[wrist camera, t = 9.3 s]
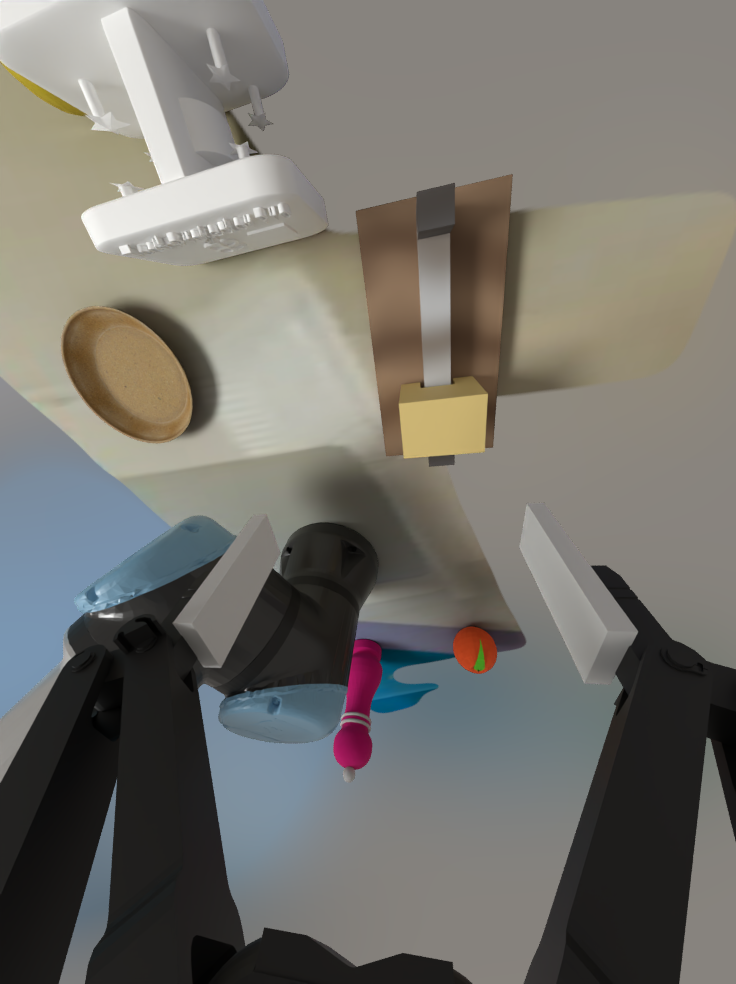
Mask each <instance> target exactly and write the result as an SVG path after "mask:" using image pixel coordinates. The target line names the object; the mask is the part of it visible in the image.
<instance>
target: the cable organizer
mask: <svg viewBox="0 0 736 984" xmlns="http://www.w3.org/2000/svg"><path fill="white" fill-rule="evenodd" d="M0 61H1V62H2V63H3V64H4V65H5V66H7V67H8V68H10V69H11V70H13V71H15V72H16V73H18V74H20V75H21V76H23V77H25V78H26V79H28V80H30V81H32V82H33V83H35V84H37V85H38V86H40V87H42V88H43V89H45V90H47V91H48V92H50V93H52V94H54V95H55V96H57V97H59V98H60V99H62V100H64V101H65V102H67V103H69V104H70V105H72V106H74V107H76V108H77V109H79V110H81V111H82V112H84V113H86V114H87V115H85V116H87V117H88V118H89V119H91V120H92V121H93V122H95V124H94V126H93V127H92V129H91V130H102V131H111V132H113V133H116V134H118V135H119V133H120V134H122V135H124V136H127V137H131V138H145V141H146V143H147V146H148V149H149V151H150V153H146V154H147V155H148V156H150V157H151V159H150V161H149V162H154V165H155V167H156V170H157V173H158V175H159V178H160V181H161V183H162V184H161V185H158V186H155V187H152V188H148V189H145V190H142V189H144V188H140V187H135V186H133V185H132V184H131V183H130V182H129V181H127V182H126V183H124V184H115V183H111V184H113V185H115V186H117V187H119V189H118V191H117V192H121V193H122V196H123V197H121V198H117V199H114V200H111V201H108V202H105V203H102V204H99V205H96V206H93V207H91V208H89V209H87V210H86V211H85V212H84V213H83V214H82V216H81V218H82V221H83V223H84V225H85V227H86V229H87V231H88V233H89V235H90V237H91V239H92V241H93V243H94V245H95V247H96V249H97V250H99V251H101V252H103V253H108V254H113V255H119V256H125V257H131V258H137V259H142V260H148V261H154V262H160V263H166V264H171V265H178V266H191V265H198V264H204V263H208V262H212V261H215V260H219V259H223V258H227V257H231V256H235V255H239V254H243V253H247V252H251V251H255V250H258V249H262V248H266V247H270V246H274V245H278V244H282V243H286V242H290V241H294V240H298V239H302V238H305V237H309V236H312V235H315V234H317V233H319V232H321V231H323V230H325V229H326V228H327V227H328V220H327V214H326V209H325V203H324V199H323V198H322V196H321V195H320V194H319V193H318V192H317V190H316V189H315V188H314V187H313V186H312V184H311V183H310V182H309V181H308V179H307V178H306V177H305V176H304V175H303V174H302V172H301V171H300V170H299V168H298V167H297V166H296V165H295V164H294V162H293V161H292V160H291V159H289V158H287V157H285V156H282V155H275V154H261V155H254V156H250V155H249V154H252V153H258V152H257V151H254V150H252V149H250V148H249V145H248V141H247V142H245V143H243V144H241V145H236V144H235V142H234V139H233V136H232V133H231V129H230V126H229V124H228V122H227V118H226V114H225V112H227V111H230V110H233V109H235V108H238V107H241V106H244V105H246V104H249V103H252V107H253V111H254V115H252V114H249V115H250V117H251V118H252V120H253V121H252V122H251V123H250V124H249V126H258V127H260V129H262V130H263V131H264V128H265V125H270V124H273V123H271V122H269V121H267V120H266V118H265V113H264V111H263V107H262V103H261V99H263V98H266V97H269V96H271V95H273V94H275V93H276V92H278V91H279V90H280V89H281V88H282V87H283V86H284V85H285V84H286V82H287V80H288V77H289V71H288V66H287V61H286V55H285V50H284V45H283V41H282V38H281V36H280V34H279V32H278V30H277V28H276V26H275V24H274V22H273V20H272V18H271V16H270V14H269V12H268V10H267V7H266V5H265V3H264V1H263V0H0ZM144 153H145V152H144ZM137 190H142V191H139V192H137Z"/></svg>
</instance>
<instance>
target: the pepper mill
mask: <svg viewBox="0 0 736 984" xmlns="http://www.w3.org/2000/svg"><path fill="white" fill-rule="evenodd" d="M381 651H382V650H381V647H380V646H379V645H378V644H377V643H376V642H374V641H371V640H368V639H359V640H356V641H355V643H354V649H353V656H352V663H351V669H350V676H349V683H348V692H347V703H346V710H345V713H344V714H343V715H342V717H341V719H342V721H341V723H340V726H341V728H342V729H341V730H340V731H339V732H338V733H337V735H336V737H335V740H334V756H335V758H336V760H337V762H338V763H339V764H340V765H341V766H342V767H344V768H345V769H344V772H343V778H344V780H345V781H346V782H352V781H353V780H354V778H355V770H356V769H360V768H362V767H364V766H365V765H366V764H367V763H368V761H369V759H370V757H371V753H372V741H371V738H370V736H369V734H368V733H369V732H370V730H371V727H370V725H371V719H370V718H369V715H370V707H371V702H372V699H373V696H374V694H375V692H376V690H377V688H378V686H379V684H380V681H381V677H382V666H381V664H380V663H379V661H380V660H381Z"/></svg>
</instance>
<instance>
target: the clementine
mask: <svg viewBox="0 0 736 984" xmlns="http://www.w3.org/2000/svg"><path fill="white" fill-rule="evenodd" d="M453 651H454V654H455V657H456V659H457V661H458V662H459V664H461V666H462V667H463V668H465V669H466V670H468V671H470V672H472V673H477V674H481V673H484V672H487V671H488V670H490V669H491V668H492V667H493V665H494V664H495V662H496V658H497V648H496V645H495V643H494V640H493V639H492V637H491V636H490V635H489V634H488V633H487V632H486V631H484V630H483V629H481V628H478V627H466V628H463V629H462V630H460V631H459V632H458V633H457V635H456V636H455V639H454V642H453Z"/></svg>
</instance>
